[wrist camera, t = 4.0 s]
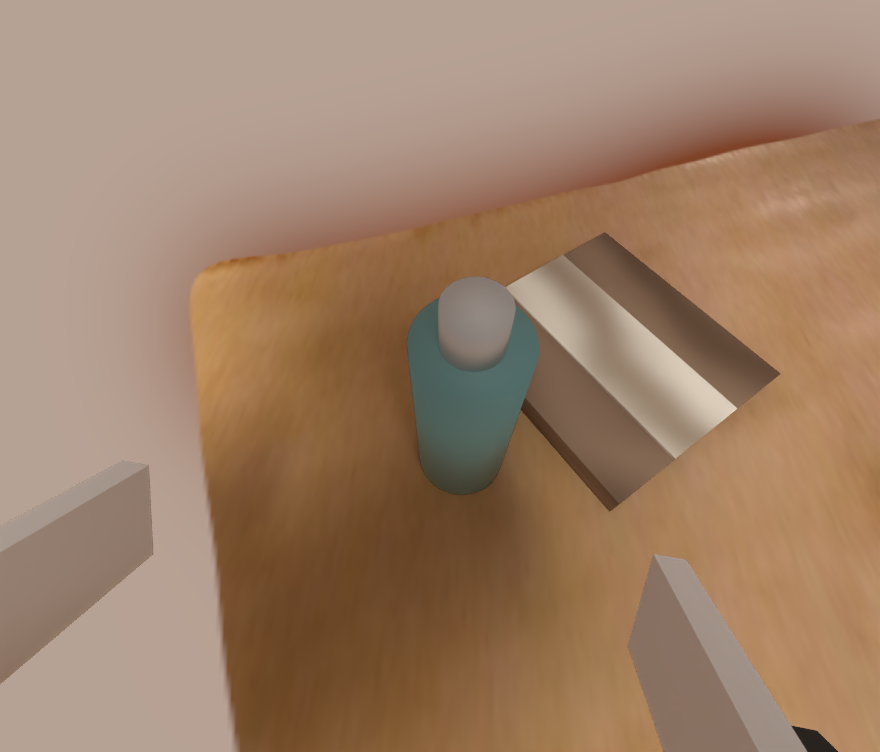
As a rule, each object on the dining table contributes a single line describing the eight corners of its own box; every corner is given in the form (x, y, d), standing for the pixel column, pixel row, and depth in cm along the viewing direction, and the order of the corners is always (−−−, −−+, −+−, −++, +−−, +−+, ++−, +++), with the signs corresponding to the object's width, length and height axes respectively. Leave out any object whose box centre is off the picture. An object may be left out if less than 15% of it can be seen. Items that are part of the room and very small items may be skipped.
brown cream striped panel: (598, 248, 33) (605, 230, 32) (764, 386, 27) (782, 372, 26) (453, 331, 30) (453, 315, 28) (609, 511, 24) (620, 503, 22)
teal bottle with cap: (469, 402, 27) (489, 232, 16) (519, 463, 25) (583, 320, 14) (403, 443, 26) (374, 291, 14) (451, 511, 24) (460, 397, 13)
